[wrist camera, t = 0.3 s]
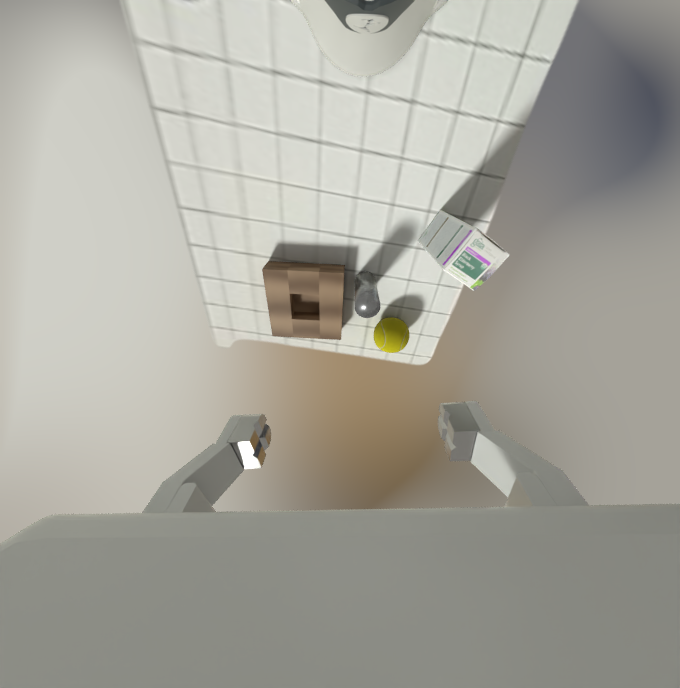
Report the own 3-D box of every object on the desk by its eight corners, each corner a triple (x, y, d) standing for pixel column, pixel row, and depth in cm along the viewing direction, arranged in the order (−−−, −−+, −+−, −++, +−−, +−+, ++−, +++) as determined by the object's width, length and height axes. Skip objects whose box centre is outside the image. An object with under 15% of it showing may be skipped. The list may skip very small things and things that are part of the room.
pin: (355, 270, 46) (355, 294, 38) (376, 271, 46) (381, 295, 38) (353, 290, 49) (353, 317, 41) (374, 291, 48) (378, 318, 40)
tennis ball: (370, 337, 55) (372, 357, 49) (375, 309, 51) (378, 328, 45) (401, 340, 55) (406, 361, 50) (409, 313, 51) (416, 332, 45)
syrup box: (416, 241, 43) (440, 272, 31) (441, 207, 39) (478, 228, 28) (441, 258, 44) (473, 294, 33) (467, 227, 41) (512, 254, 29)
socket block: (268, 261, 46) (262, 269, 42) (344, 265, 46) (344, 273, 42) (277, 325, 54) (272, 336, 51) (341, 328, 54) (340, 339, 51)
